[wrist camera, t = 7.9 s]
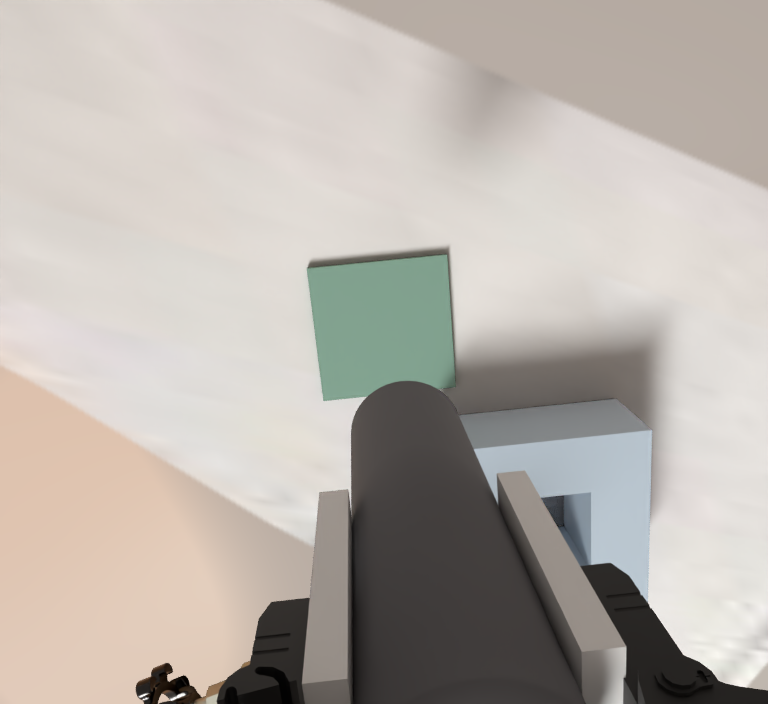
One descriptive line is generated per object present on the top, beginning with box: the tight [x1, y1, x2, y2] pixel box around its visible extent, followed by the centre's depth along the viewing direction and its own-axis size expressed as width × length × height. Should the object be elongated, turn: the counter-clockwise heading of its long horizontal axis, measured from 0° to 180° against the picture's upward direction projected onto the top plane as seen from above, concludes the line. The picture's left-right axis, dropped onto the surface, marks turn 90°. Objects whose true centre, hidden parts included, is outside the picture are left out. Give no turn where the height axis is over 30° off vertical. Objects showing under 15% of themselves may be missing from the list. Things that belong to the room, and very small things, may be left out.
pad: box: [307, 254, 456, 401], centre depth 38 cm, size 8×8×1 cm
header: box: [459, 399, 652, 603], centre depth 39 cm, size 12×12×5 cm
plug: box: [351, 381, 586, 704], centre depth 17 cm, size 4×4×14 cm
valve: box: [136, 661, 250, 704], centre depth 41 cm, size 7×7×12 cm
